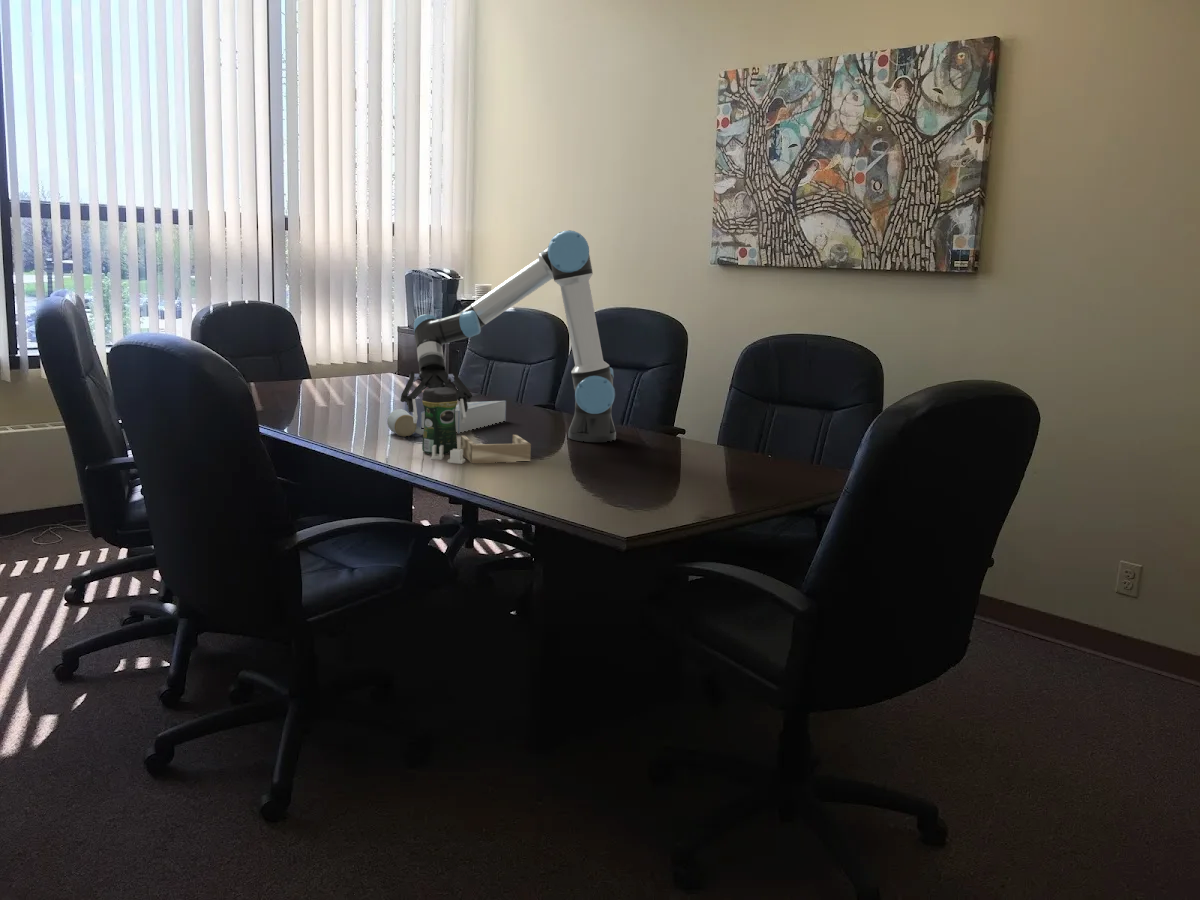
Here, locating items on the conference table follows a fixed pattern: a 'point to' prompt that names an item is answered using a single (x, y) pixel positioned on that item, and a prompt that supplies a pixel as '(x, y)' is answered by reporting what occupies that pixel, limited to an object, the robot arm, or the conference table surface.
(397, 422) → the ceramic mug
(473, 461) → the wooden u-shaped piece
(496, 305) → the robot arm
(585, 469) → the conference table surface
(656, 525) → the conference table surface
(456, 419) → the white bar
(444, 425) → the coffee jar
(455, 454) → the cable clips
